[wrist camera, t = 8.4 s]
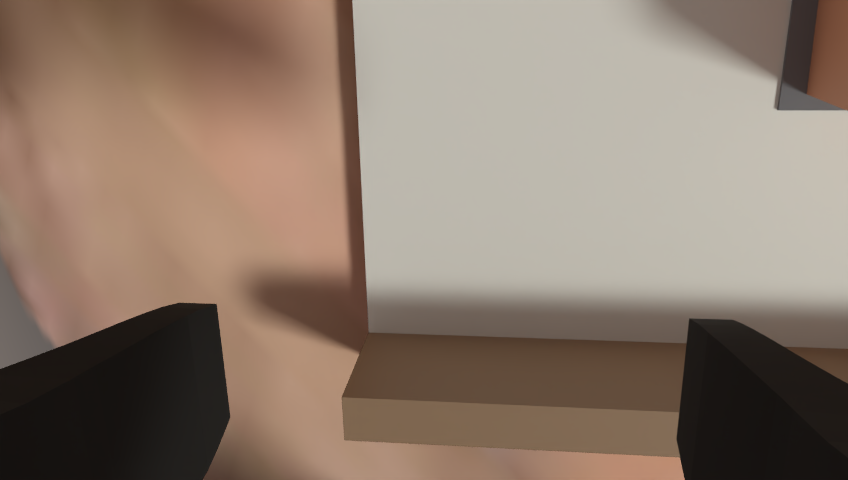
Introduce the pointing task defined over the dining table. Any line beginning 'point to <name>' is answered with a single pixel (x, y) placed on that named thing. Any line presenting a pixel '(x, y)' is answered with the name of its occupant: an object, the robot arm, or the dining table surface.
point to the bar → (830, 54)
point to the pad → (800, 60)
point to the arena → (582, 215)
